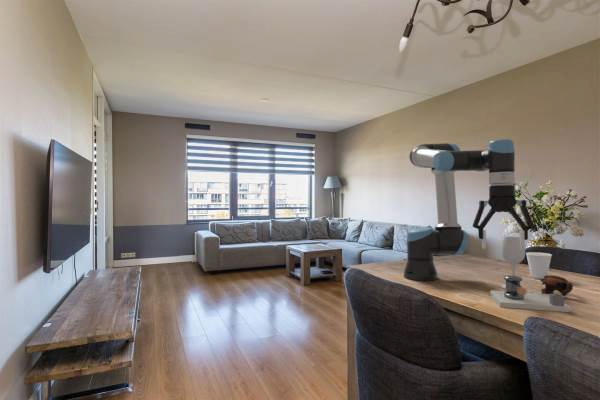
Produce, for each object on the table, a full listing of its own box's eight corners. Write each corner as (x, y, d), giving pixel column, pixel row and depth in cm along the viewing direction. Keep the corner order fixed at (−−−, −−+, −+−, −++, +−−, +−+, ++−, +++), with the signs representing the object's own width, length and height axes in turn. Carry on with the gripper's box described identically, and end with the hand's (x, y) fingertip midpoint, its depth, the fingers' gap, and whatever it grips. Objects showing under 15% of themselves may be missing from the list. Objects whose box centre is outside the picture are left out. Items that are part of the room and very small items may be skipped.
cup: (543, 275, 157) (543, 252, 157) (557, 280, 147) (557, 255, 147) (521, 275, 158) (521, 252, 157) (534, 280, 148) (533, 255, 148)
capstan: (501, 293, 123) (501, 275, 123) (520, 294, 121) (519, 275, 121) (512, 304, 110) (512, 284, 110) (533, 306, 108) (533, 285, 108)
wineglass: (522, 286, 138) (521, 236, 138) (529, 291, 130) (528, 238, 130) (499, 284, 141) (498, 236, 141) (504, 290, 133) (503, 238, 133)
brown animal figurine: (532, 293, 129) (535, 274, 132) (552, 303, 130) (555, 283, 133) (562, 294, 118) (564, 272, 121) (583, 304, 119) (585, 282, 121)
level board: (500, 306, 113) (499, 288, 113) (490, 294, 127) (490, 278, 127) (570, 312, 107) (570, 292, 107) (551, 298, 121) (551, 281, 121)
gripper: (466, 185, 113) (467, 249, 113) (546, 183, 105) (547, 251, 105) (462, 186, 120) (463, 246, 120) (537, 184, 112) (538, 248, 113)
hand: (502, 249), depth 113 cm, fingers open, 11 cm apart
